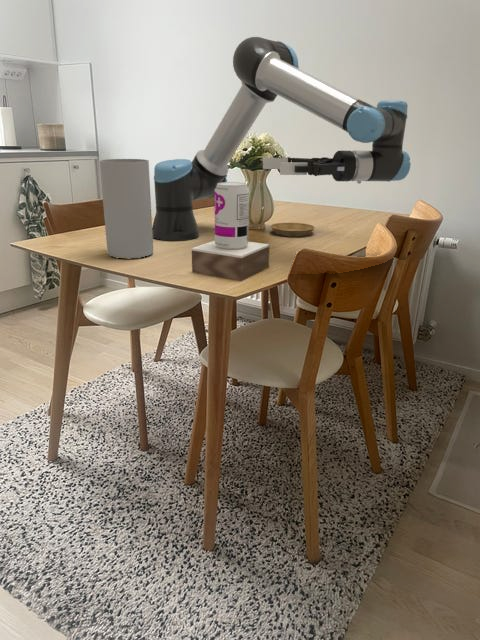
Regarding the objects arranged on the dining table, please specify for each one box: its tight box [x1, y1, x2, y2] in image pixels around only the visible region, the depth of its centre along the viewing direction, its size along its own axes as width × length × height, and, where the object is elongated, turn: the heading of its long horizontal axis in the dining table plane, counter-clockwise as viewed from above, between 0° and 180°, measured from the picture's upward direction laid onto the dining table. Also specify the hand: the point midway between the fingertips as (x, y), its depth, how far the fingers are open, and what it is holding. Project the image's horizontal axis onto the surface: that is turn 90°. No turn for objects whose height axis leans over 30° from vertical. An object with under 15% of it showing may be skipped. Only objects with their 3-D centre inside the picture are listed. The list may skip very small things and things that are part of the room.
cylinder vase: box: [99, 158, 154, 259], centre depth 136 cm, size 12×12×25 cm
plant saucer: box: [270, 222, 315, 238], centre depth 170 cm, size 15×15×3 cm
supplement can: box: [214, 181, 250, 250], centre depth 122 cm, size 8×8×15 cm
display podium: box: [191, 240, 270, 282], centre depth 126 cm, size 14×14×6 cm
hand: (271, 165), depth 124 cm, fingers open, 13 cm apart
